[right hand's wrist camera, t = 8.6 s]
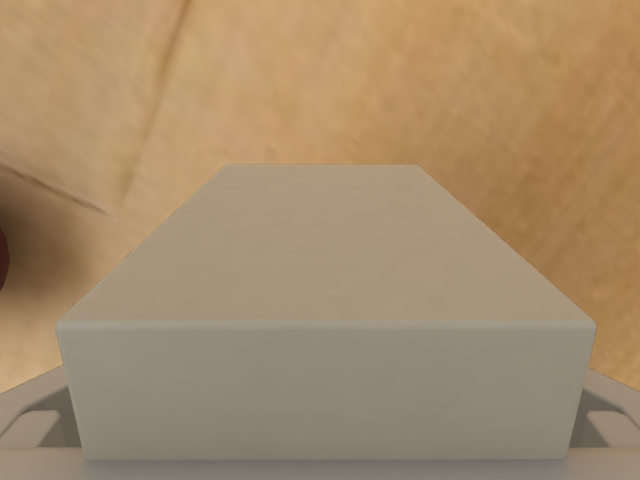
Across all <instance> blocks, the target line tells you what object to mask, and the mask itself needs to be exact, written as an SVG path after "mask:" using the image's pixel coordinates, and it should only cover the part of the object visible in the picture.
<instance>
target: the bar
mask: <svg viewBox="0 0 640 480" xmlns="http://www.w3.org/2000/svg"><path fill="white" fill-rule="evenodd" d="M596 331H597V328H596V323H595V321H594V320H593V319H592V318H591V317H590V316H589V315H587V314H586V313H585V312H584V311H583V310H582V309H581V308H579V307H578V306H577V305H576V304H575V303H574V302H573V301H572V300H570V299H569V298H568V297H567V296H566V295H565V294H564V293H562V292H561V291H560V290H559V289H558V288H557V287H556V286H555V285H553V284H552V283H551V282H550V281H549V280H548V279H547V278H545V277H544V276H543V275H542V274H541V273H540V272H539V271H538V270H536V269H535V268H534V267H533V266H532V265H531V264H530V263H528V262H527V261H526V260H525V259H524V258H523V257H522V256H521V255H519V254H518V253H517V252H516V251H515V250H514V249H513V248H512V247H510V246H509V245H508V244H507V243H506V242H505V241H504V240H502V239H501V238H500V237H499V236H498V235H497V234H496V233H495V232H493V231H492V230H491V229H490V228H489V227H488V226H487V225H485V224H484V223H483V222H482V221H481V220H480V219H479V218H478V217H476V216H475V215H474V214H473V213H472V212H471V211H470V210H468V209H467V208H466V207H465V206H464V205H463V204H462V203H461V202H459V201H458V200H457V199H456V198H455V197H454V196H453V195H451V194H450V193H449V192H448V191H447V190H446V189H445V188H444V187H442V186H441V185H440V184H439V183H438V182H437V181H436V180H434V179H433V178H432V177H431V176H430V175H429V174H428V173H427V172H425V171H424V170H423V169H422V168H421V167H420V166H418V165H249V164H227V165H224V166H223V167H222V168H221V169H220V170H219V171H218V172H217V173H216V174H215V175H214V176H212V177H211V178H210V179H209V180H208V181H207V182H206V183H205V184H204V185H203V186H202V187H201V188H200V189H198V190H197V191H196V192H195V193H194V194H193V195H192V196H191V197H190V198H189V199H188V200H187V201H186V202H185V203H183V204H182V205H181V206H180V207H179V208H178V209H177V210H176V211H175V212H174V213H173V214H172V215H171V216H170V217H168V218H167V219H166V220H165V221H164V222H163V223H162V224H161V225H160V226H159V227H158V228H157V229H156V230H154V231H153V232H152V233H151V234H150V235H149V236H148V237H147V238H146V239H145V240H144V241H143V242H142V243H141V244H139V245H138V246H137V247H136V248H135V249H134V250H133V251H132V252H131V253H130V254H129V255H128V256H127V257H126V258H124V259H123V260H122V261H121V262H120V263H119V264H118V265H117V266H116V267H115V268H114V269H113V270H112V271H110V272H109V273H108V274H107V275H106V276H105V277H104V278H103V279H102V280H101V281H100V282H99V283H98V284H97V285H95V286H94V287H93V288H92V289H91V290H90V291H89V292H88V293H87V294H86V295H85V296H84V297H83V298H82V299H80V300H79V301H78V302H77V303H76V304H75V305H74V306H73V307H72V308H71V309H70V310H69V311H68V312H66V313H65V314H64V315H63V316H62V317H61V318H60V319H59V320H58V321H57V324H56V334H57V338H58V343H59V347H60V352H61V356H62V360H63V365H64V369H65V374H66V378H67V383H68V387H69V392H70V396H71V401H72V405H73V409H74V414H75V418H76V423H77V427H78V432H79V436H80V441H81V445H82V450H83V454H84V458H85V459H87V460H539V459H564V458H566V456H567V452H568V448H569V444H570V440H571V435H572V431H573V427H574V423H575V419H576V414H577V410H578V406H579V402H580V398H581V394H582V389H583V385H584V381H585V377H586V373H587V368H588V364H589V360H590V356H591V352H592V347H593V343H594V339H595V335H596Z"/></svg>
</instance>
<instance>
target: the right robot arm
mask: <svg viewBox="0 0 640 480" xmlns="http://www.w3.org/2000/svg"><path fill="white" fill-rule="evenodd" d="M0 480H640V391H638V390H636V389H634V388H631V387H629V386H627V385H625V384H623V383H621V382H619V381H616V380H614V379H612V378H610V377H608V376H606V375H604V374H601V373H599V372H597V371H595V370H593V369H591V368H589V367H588V368H587V373H586V377H585V381H584V385H583V389H582V394H581V398H580V402H579V406H578V410H577V414H576V419H575V423H574V427H573V431H572V435H571V440H570V444H569V448H568V452H567V456H566V458H564V459H539V460H87V459H85V458H84V454H83V450H82V445H81V441H80V436H79V432H78V427H77V423H76V418H75V414H74V409H73V405H72V401H71V396H70V392H69V387H68V383H67V378H66V374H65V369H64V365H61V366H59V367H57V368H55V369H52V370H50V371H48V372H46V373H44V374H42V375H40V376H38V377H35V378H33V379H31V380H29V381H27V382H25V383H23V384H20V385H18V386H16V387H14V388H12V389H10V390H8V391H6V392H3V393H1V394H0Z"/></svg>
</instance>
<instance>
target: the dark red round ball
mask: <svg viewBox="0 0 640 480" xmlns="http://www.w3.org/2000/svg"><path fill="white" fill-rule="evenodd" d="M8 267H9V255H8V248H7V242H6V239H5V237H4V235H3V233H2V231H1V229H0V290H1V289H2V287H3V285H4V282H5V280H6V276H7V271H8Z"/></svg>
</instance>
